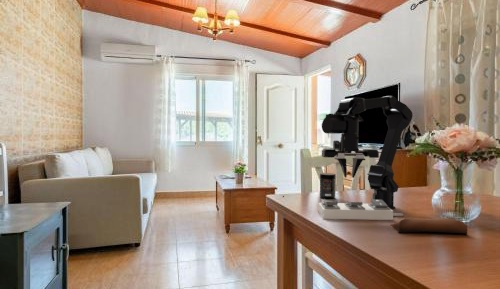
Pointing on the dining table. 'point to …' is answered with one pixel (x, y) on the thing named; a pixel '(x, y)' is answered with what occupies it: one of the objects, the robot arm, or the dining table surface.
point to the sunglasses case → (430, 225)
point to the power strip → (355, 212)
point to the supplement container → (327, 185)
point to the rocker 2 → (379, 203)
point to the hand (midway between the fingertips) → (349, 177)
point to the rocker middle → (354, 203)
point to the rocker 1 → (330, 203)
